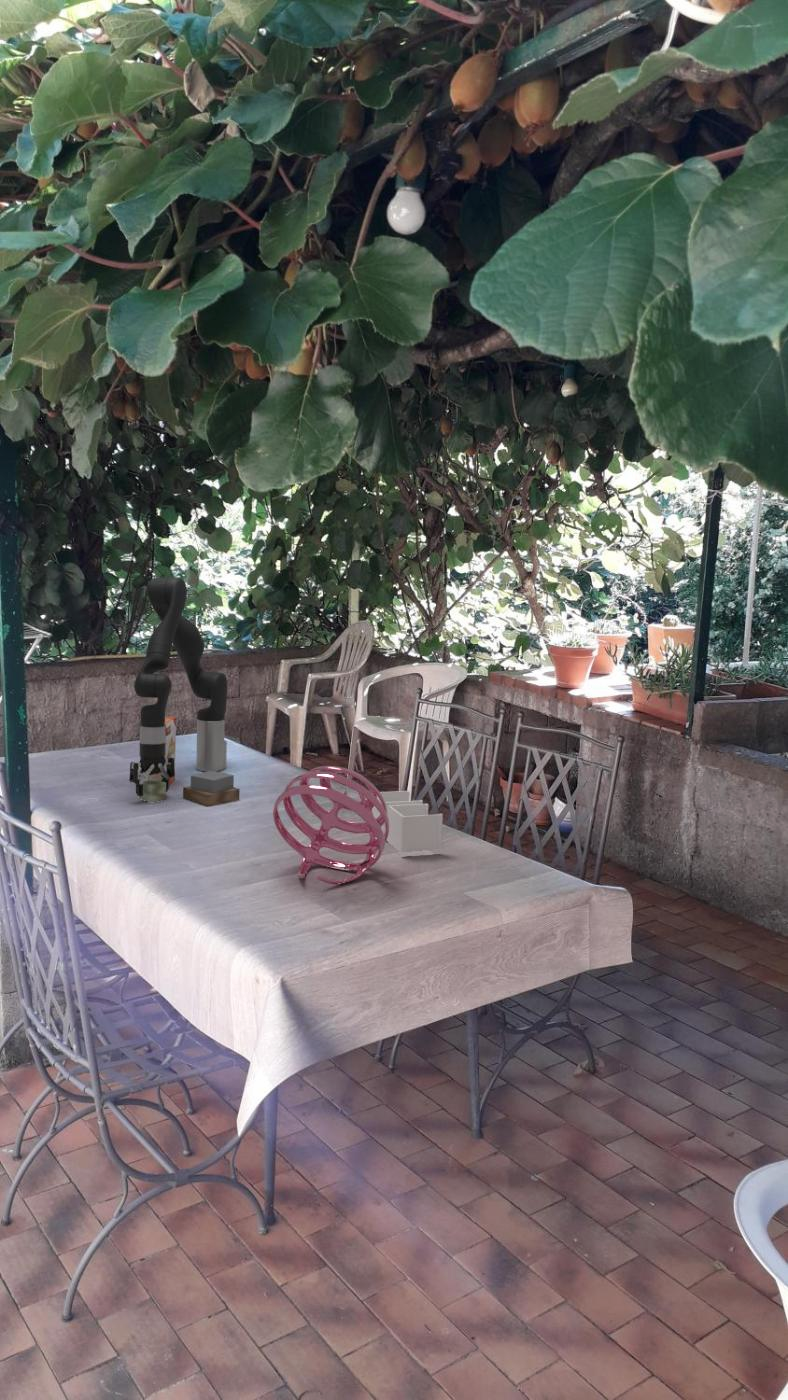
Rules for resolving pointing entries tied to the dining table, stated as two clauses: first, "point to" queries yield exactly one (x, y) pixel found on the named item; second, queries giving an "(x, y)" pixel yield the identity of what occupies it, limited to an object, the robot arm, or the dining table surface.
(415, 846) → the storage container
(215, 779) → the top slab
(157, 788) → the green cube
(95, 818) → the dining table surface
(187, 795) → the bottom slab
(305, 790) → the spiral basket
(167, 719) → the cracker box
